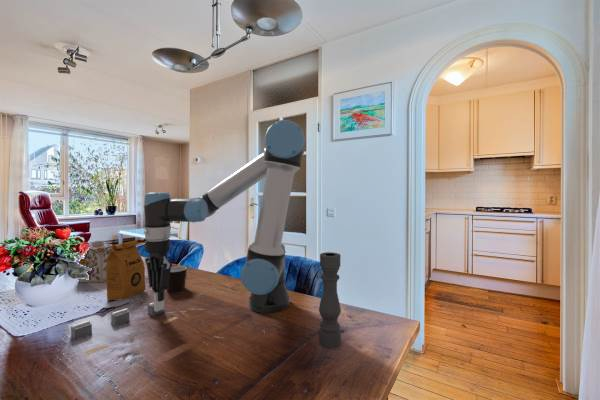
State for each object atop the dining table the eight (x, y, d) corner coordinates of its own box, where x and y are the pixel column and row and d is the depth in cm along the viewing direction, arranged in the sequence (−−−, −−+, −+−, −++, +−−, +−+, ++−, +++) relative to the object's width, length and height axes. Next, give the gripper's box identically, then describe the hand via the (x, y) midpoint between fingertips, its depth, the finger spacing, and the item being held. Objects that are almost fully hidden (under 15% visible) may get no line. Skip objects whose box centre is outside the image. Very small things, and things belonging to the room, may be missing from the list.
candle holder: (335, 350, 75) (335, 258, 74) (314, 344, 78) (315, 255, 77) (344, 340, 80) (344, 253, 79) (324, 334, 84) (325, 251, 83)
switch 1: (92, 334, 81) (91, 322, 81) (74, 340, 77) (74, 327, 77) (88, 331, 82) (87, 319, 82) (71, 336, 79) (70, 324, 79)
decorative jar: (102, 282, 128) (100, 243, 127) (76, 282, 128) (75, 243, 128) (119, 274, 140) (118, 239, 139) (96, 274, 140) (95, 238, 140)
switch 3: (164, 311, 96) (164, 301, 95) (152, 315, 92) (152, 305, 92) (159, 309, 97) (159, 299, 97) (147, 313, 94) (147, 302, 94)
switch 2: (129, 320, 89) (129, 309, 89) (115, 325, 86) (115, 314, 85) (125, 318, 91) (125, 307, 90) (111, 323, 87) (110, 311, 87)
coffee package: (149, 292, 116) (148, 240, 116) (122, 304, 105) (120, 246, 104) (131, 289, 120) (130, 238, 119) (102, 300, 108) (101, 244, 107)
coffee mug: (181, 296, 112) (181, 272, 112) (160, 296, 112) (159, 272, 112) (193, 286, 124) (193, 264, 123) (173, 286, 124) (173, 264, 123)
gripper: (136, 238, 93) (137, 308, 94) (156, 243, 85) (157, 319, 86) (158, 235, 99) (160, 301, 100) (179, 239, 92) (180, 310, 93)
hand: (159, 309), depth 93 cm, fingers closed
